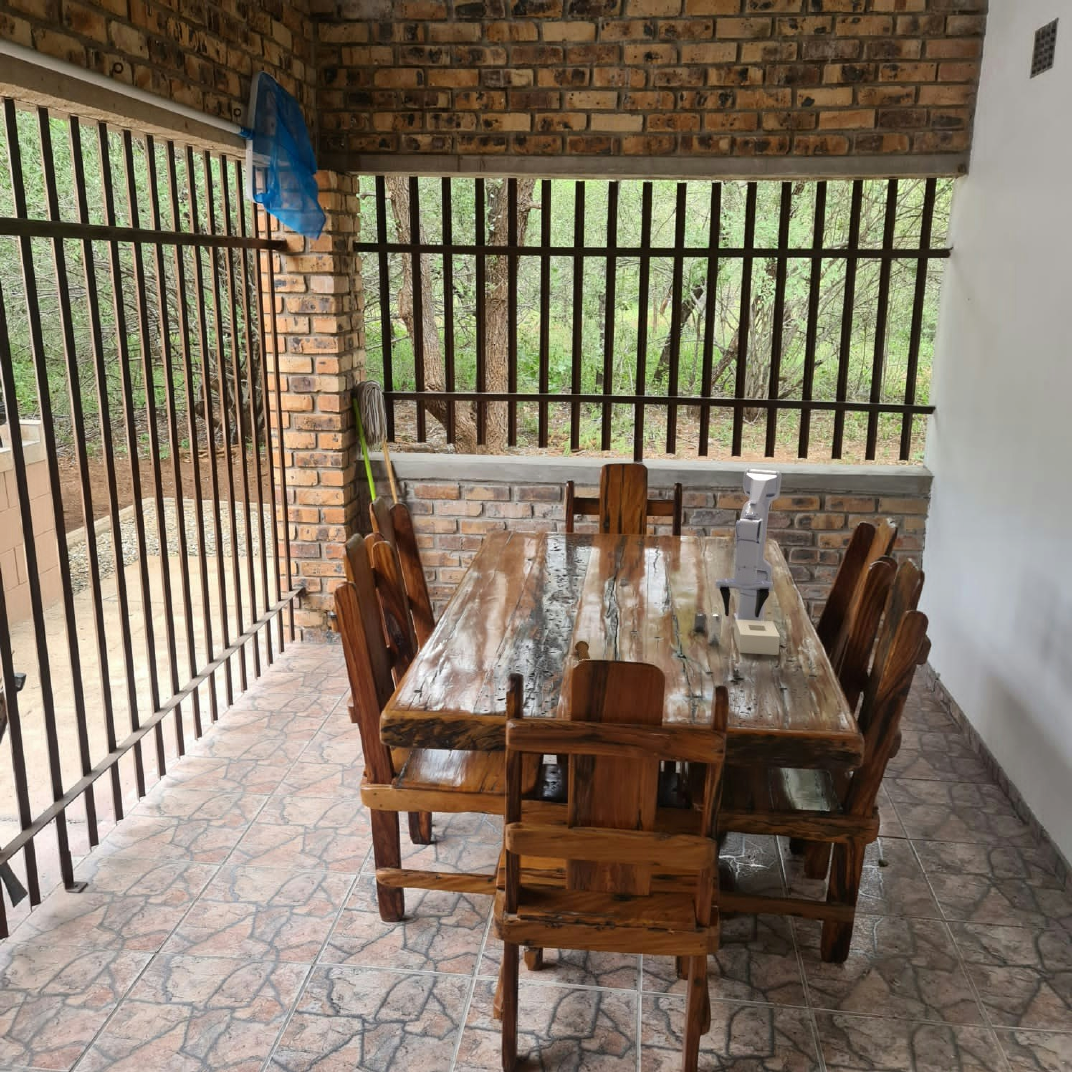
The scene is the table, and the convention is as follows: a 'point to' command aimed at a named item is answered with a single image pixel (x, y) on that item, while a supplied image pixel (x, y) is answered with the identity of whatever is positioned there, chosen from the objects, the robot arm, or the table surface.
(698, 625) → the short pin
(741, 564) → the robot arm
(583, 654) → the primitive tool
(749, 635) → the hole block
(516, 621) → the table surface
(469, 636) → the table surface
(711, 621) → the long pin
